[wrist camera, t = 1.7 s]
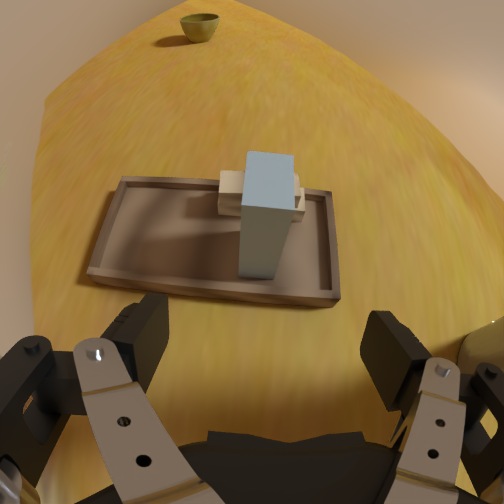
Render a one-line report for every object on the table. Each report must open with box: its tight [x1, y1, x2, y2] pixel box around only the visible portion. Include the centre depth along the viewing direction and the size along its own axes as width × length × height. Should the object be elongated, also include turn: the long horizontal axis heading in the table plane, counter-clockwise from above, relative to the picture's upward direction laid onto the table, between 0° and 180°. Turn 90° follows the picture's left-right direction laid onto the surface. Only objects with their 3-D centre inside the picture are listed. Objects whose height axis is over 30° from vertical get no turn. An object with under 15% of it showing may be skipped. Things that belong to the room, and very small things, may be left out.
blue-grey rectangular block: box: [238, 151, 295, 280], centre depth 25 cm, size 3×5×11 cm, turn 176°
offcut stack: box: [218, 171, 305, 222], centre depth 30 cm, size 9×4×4 cm, turn 86°
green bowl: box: [180, 13, 219, 43], centre depth 58 cm, size 10×10×7 cm
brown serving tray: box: [86, 176, 341, 307], centre depth 30 cm, size 25×13×2 cm, turn 86°
